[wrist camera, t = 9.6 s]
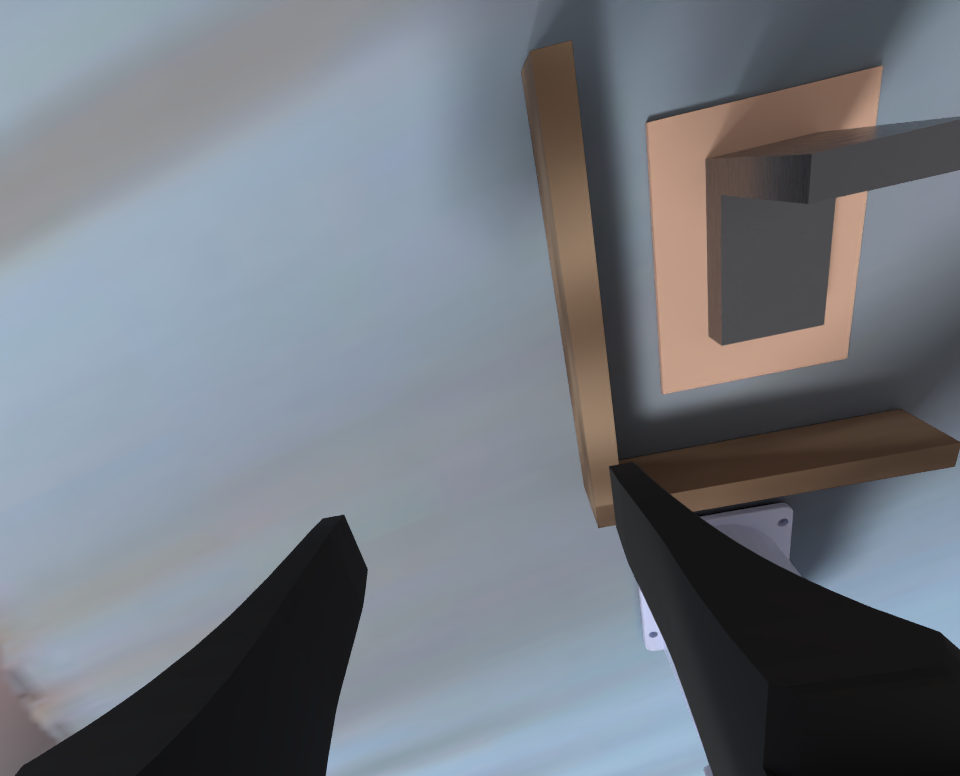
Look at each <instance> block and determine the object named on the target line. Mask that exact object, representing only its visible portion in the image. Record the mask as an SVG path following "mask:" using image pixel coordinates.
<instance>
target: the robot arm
mask: <svg viewBox="0 0 960 776" xmlns="http://www.w3.org/2000/svg"><path fill="white" fill-rule="evenodd" d="M609 472H610V480H611V488H612V496H613V505H614V513H615V521H616V528H617V531H618V534H619V537H620V540H621V543H622V546H623V549H624V552H625V555H626V558H627V561H628V563H629V566H630V568H631V570H632V572H633V574H634V577H635V579H636V581H637V583H638V588H639V598H640V608H641V617H642V627H643V637H644V643H645V646H646V648H647V649H648V650H651V651H657V650H663V649H665V652H666V655H667V657H668V660H669V662H670V665H671V667H672V670H673V672H674V675H675V677H676V680H677V683H678V685H679V688H680V690H681V693H682V695H683V698H684V700H685V703H686V705H687V708H688V711H689V713H690V716H691V718H692V721H693V723H694V726H695V728H696V731H697V733H698V736H699V739H700V741H701V744H702V746H703V748H704V750H705V753H706V756H707V759H708V762H709V765H708V766H706V767H705V768H704V773H705V776H960V649H958V648H957V647H956V646H955V645H954V644H953V643H952V642H950V641H949V640H948V639H947V638H946V637H945V636H944V635H943V634H942V633H940V632H938V631H935V630H933V629H930V628H927V627H924V626H922V625H919V624H916V623H913V622H910V621H908V620H905V619H902V618H899V617H897V616H894V615H891V614H888V613H885V612H883V611H880V610H877V609H874V608H872V607H869V606H867V605H864V604H862V603H859V602H857V601H855V600H852V599H850V598H847V597H845V596H843V595H840V594H838V593H835V592H833V591H831V590H829V589H826V588H824V587H822V586H820V585H817V584H815V583H813V582H811V581H809V580H807V579H805V578H803V577H802V576H801V575H800V573H799V572H798V571H797V570H796V568H795V567H794V566H793V565H792V563H791V562H790V561H789V558H790V546H791V534H792V522H793V510H792V509H791V507H790V506H789V505H788V504H786V503H776V504H771V505H765V506H759V507H753V508H747V509H741V510H736V511H730V512H724V513H718V514H712V515H706V516H701V517H699V516H698V515H697V514H695V513H694V512H693V511H691V510H690V509H689V508H687V507H686V506H685V505H684V504H682V503H681V502H680V501H678V500H677V499H676V498H675V497H673V496H672V495H671V494H670V493H668V492H667V491H666V490H665V489H664V488H662V487H661V486H660V485H659V484H658V483H657V482H655V481H654V480H653V479H652V478H651V477H650V476H649V475H648V474H646V473H645V472H644V471H643V470H642V469H641V468H640V467H639V466H638V465H636V464H635V463H633V462H629V463H623V464H618V465H612V466H609ZM781 519H782V520H781ZM367 571H368V569H367V567H366V564H365V562H364V560H363V557H362V555H361V553H360V550H359V548H358V546H357V544H356V541H355V539H354V537H353V534H352V532H351V530H350V527H349V525H348V523H347V520H346V518H345V516H344V515H340V516H334V517H329V518H323V519H322V520H321V521H320V522H319V523H318V524H317V525H316V526H315V527H314V528H313V529H312V530H311V531H310V532H309V533H308V534H307V535H306V537H305V538H304V539H303V540H302V541H301V542H300V543H299V544H298V545H297V546H296V547H295V549H294V550H293V551H292V552H291V553H290V554H289V555H288V556H287V557H286V558H285V560H284V561H283V562H282V563H281V564H280V565H279V566H278V567H277V568H276V569H275V570H274V571H273V573H272V574H271V575H270V576H269V577H268V578H267V579H266V580H265V581H264V582H263V583H262V584H261V585H260V586H259V587H258V588H257V589H256V590H255V591H254V592H253V593H252V594H251V595H250V596H249V597H248V598H247V599H246V600H245V601H244V602H243V603H242V604H241V605H240V606H239V607H238V608H237V609H236V610H235V611H234V612H233V613H232V614H231V615H230V616H229V617H228V618H227V619H226V620H225V621H223V622H222V623H221V624H220V625H219V626H218V627H217V628H216V629H215V630H213V631H212V632H211V633H210V634H209V635H208V636H207V637H205V638H204V639H203V640H202V641H201V642H200V643H199V644H197V645H196V646H195V647H194V648H193V649H191V650H190V651H189V652H188V653H186V654H185V655H184V656H183V657H181V658H180V659H179V660H178V661H176V662H175V663H174V664H172V665H171V666H170V667H169V668H167V669H166V670H165V671H164V672H162V673H161V674H160V675H158V676H157V677H156V678H155V679H153V680H152V681H151V682H149V683H148V684H147V685H145V686H144V687H143V688H141V689H140V690H138V691H137V692H136V693H134V694H133V695H132V696H130V697H129V698H127V699H126V700H125V701H123V702H122V703H120V704H119V705H117V706H116V707H114V708H113V709H111V710H110V711H109V712H107V713H106V714H104V715H103V716H101V717H100V718H98V719H97V720H95V721H94V722H92V723H91V724H89V725H88V726H86V727H85V728H83V729H81V730H80V731H78V732H77V733H75V734H73V735H72V736H70V737H69V738H67V739H65V740H64V741H62V742H61V743H59V744H58V745H56V746H54V747H53V748H51V749H49V750H48V751H46V752H45V753H43V754H41V755H40V756H38V757H37V758H35V759H33V760H32V761H30V762H28V763H27V764H25V765H23V766H22V767H21V768H20V770H19V771H18V772H17V774H16V775H15V776H326V769H327V762H328V755H329V749H330V743H331V738H332V732H333V726H334V720H335V714H336V709H337V705H338V700H339V696H340V691H341V688H342V684H343V680H344V677H345V673H346V669H347V665H348V662H349V658H350V654H351V651H352V647H353V643H354V639H355V636H356V632H357V628H358V624H359V620H360V616H361V612H362V608H363V603H364V596H365V589H366V580H367Z"/></svg>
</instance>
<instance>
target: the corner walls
mask: <svg viewBox="0 0 960 776" xmlns="http://www.w3.org/2000/svg"><path fill="white" fill-rule="evenodd" d="M521 74H522V80H523V87H524V93H525V100H526V107H527V113H528V120H529V126H530V133H531V139H532V146H533V153H534V159H535V166H536V172H537V179H538V185H539V192H540V199H541V205H542V212H543V218H544V225H545V232H546V238H547V245H548V251H549V258H550V264H551V271H552V278H553V284H554V291H555V297H556V304H557V310H558V317H559V324H560V330H561V337H562V343H563V350H564V356H565V363H566V370H567V376H568V383H569V389H570V396H571V402H572V409H573V416H574V422H575V429H576V435H577V442H578V448H579V455H580V462H581V468H582V475H583V481H584V487H585V490H586V493H587V496H588V499H589V502H590V505H591V508H592V511H593V514H594V516H595V519H596V522H597V525H598V528H601V527H607V526H613V525H616V521H615V513H614V505H613V496H612V488H611V480H610V472H609V466H612V465H618V464H623V463H629V462H633V463H635V464H636V465H638V466H639V467H640V468H641V469H642V470H643V471H644V472H645V473H646V474H648V475H649V476H650V477H651V478H652V479H653V480H654V481H655V482H657V483H658V484H659V485H660V486H661V487H662V488H664V489H665V490H666V491H667V492H668V493H670V494H671V495H672V496H673V497H675V498H676V499H677V500H678V501H680V502H681V503H682V504H684V505H685V506H686V507H687V508H689V509H690V510H691V511H693V512H694V511H700V510H706V509H712V508H717V507H723V506H729V505H735V504H741V503H746V502H752V501H758V500H764V499H770V498H775V497H781V496H787V495H793V494H799V493H804V492H810V491H816V490H822V489H828V488H833V487H839V486H845V485H851V484H857V483H862V482H868V481H874V480H880V479H886V478H891V477H897V476H903V475H909V474H915V473H920V472H926V471H932V470H938V469H944V468H949V467H955V465H956V461H957V457H958V453H959V449H960V442H959V441H957V440H956V439H954V438H952V437H950V436H948V435H947V434H945V433H943V432H941V431H940V430H938V429H936V428H934V427H932V426H931V425H929V424H927V423H925V422H924V421H922V420H920V419H918V418H916V417H915V416H913V415H911V414H909V413H908V412H906V411H904V410H902V409H896V410H891V411H885V412H880V413H874V414H869V415H864V416H858V417H853V418H847V419H842V420H836V421H831V422H826V423H820V424H815V425H809V426H804V427H798V428H793V429H787V430H782V431H777V432H771V433H766V434H760V435H755V436H749V437H744V438H738V439H733V440H728V441H722V442H717V443H711V444H706V445H700V446H695V447H690V448H684V449H679V450H673V451H668V452H662V453H657V454H651V455H646V456H641V457H635V458H630V459H624V460H619V461H618V452H617V443H616V434H615V425H614V416H613V407H612V398H611V389H610V380H609V371H608V362H607V353H606V344H605V335H604V326H603V317H602V308H601V299H600V290H599V281H598V272H597V263H596V254H595V245H594V236H593V227H592V218H591V209H590V200H589V191H588V182H587V173H586V164H585V155H584V146H583V137H582V128H581V119H580V110H579V101H578V91H577V82H576V73H575V64H574V55H573V46H572V40H570V41H566V42H563V43H559V44H555V45H551V46H547V47H543V48H540V49H536V50H532V51H530V53H529V55H528V57H527V59H526V61H525V63H524V66H523V68H522V70H521Z"/></svg>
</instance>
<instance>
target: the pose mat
mask: <svg viewBox="0 0 960 776" xmlns="http://www.w3.org/2000/svg"><path fill="white" fill-rule="evenodd" d="M882 70H883V65H882V66H878V67H874V68H870V69H866V70H862V71H858V72H854V73H849V74H845V75H841V76H837V77H833V78H829V79H825V80H821V81H817V82H812V83H808V84H804V85H800V86H796V87H792V88H788V89H784V90H779V91H775V92H771V93H767V94H763V95H759V96H755V97H751V98H746V99H742V100H738V101H734V102H730V103H726V104H722V105H718V106H714V107H709V108H705V109H701V110H697V111H693V112H689V113H685V114H681V115H676V116H672V117H668V118H664V119H660V120H656V121H652V122H648V123H646V139H647V156H648V173H649V189H650V206H651V223H652V240H653V256H654V273H655V290H656V306H657V323H658V340H659V357H660V373H661V390H662V393H663V394H667V393H672V392H677V391H682V390H687V389H692V388H698V387H703V386H708V385H713V384H718V383H723V382H728V381H734V380H739V379H744V378H749V377H754V376H759V375H765V374H770V373H775V372H780V371H785V370H790V369H795V368H801V367H806V366H811V365H816V364H821V363H826V362H832V361H837V360H842V359H847V355H848V347H849V339H850V330H851V322H852V314H853V306H854V298H855V290H856V282H857V273H858V265H859V257H860V249H861V241H862V233H863V225H864V216H865V208H866V200H867V192H868V191H865V192H860V193H856V194H851V195H847V196H843V197H838V198H836V202H835V212H834V223H833V234H832V245H831V256H830V267H829V277H828V288H827V299H826V310H825V321H824V325H821V326H817V327H812V328H807V329H802V330H797V331H792V332H787V333H782V334H777V335H773V336H768V337H763V338H758V339H753V340H748V341H743V342H738V343H734V344H729V345H724V346H721V345H720V344H718V343H717V342H716V341H714V340H713V339H711V338H710V337H709V336H708V285H707V227H706V169H705V159H708V158H712V157H716V156H720V155H724V154H729V153H733V152H737V151H741V150H745V149H750V148H754V147H758V146H762V145H766V144H771V143H775V142H779V141H783V140H787V139H791V138H796V137H800V136H804V135H808V134H812V133H817V132H823V131H832V130H842V129H851V128H860V127H869V126H876V119H877V111H878V103H879V94H880V86H881V78H882Z"/></svg>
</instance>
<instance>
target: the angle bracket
mask: <svg viewBox="0 0 960 776" xmlns="http://www.w3.org/2000/svg"><path fill="white" fill-rule="evenodd" d="M705 169H706V227H707V285H708V336H709V337H710V338H711V339H713V340H714V341H716V342H717V343H718V344H720V345H721V346H724V345H729V344H734V343H738V342H743V341H748V340H753V339H758V338H763V337H768V336H773V335H777V334H782V333H787V332H792V331H797V330H802V329H807V328H812V327H817V326H821V325H824V321H825V310H826V299H827V288H828V277H829V267H830V256H831V245H832V234H833V223H834V212H835V202H836V198H838V197H843V196H847V195H851V194H856V193H860V192H865V191H869V190H873V189H878V188H882V187H887V186H891V185H896V184H900V183H904V182H909V181H913V180H918V179H922V178H926V177H931V176H935V175H940V174H944V173H948V172H953V171H957V170H960V117H951V118H942V119H933V120H924V121H914V122H905V123H896V124H887V125H878V126H869V127H860V128H851V129H842V130H832V131H823V132H817V133H812V134H808V135H804V136H800V137H796V138H791V139H787V140H783V141H779V142H775V143H771V144H766V145H762V146H758V147H754V148H750V149H745V150H741V151H737V152H733V153H729V154H724V155H720V156H716V157H712V158H708V159H705Z"/></svg>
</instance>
